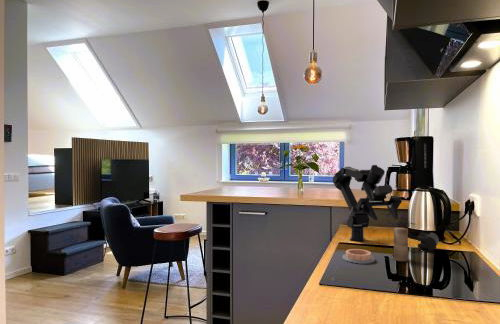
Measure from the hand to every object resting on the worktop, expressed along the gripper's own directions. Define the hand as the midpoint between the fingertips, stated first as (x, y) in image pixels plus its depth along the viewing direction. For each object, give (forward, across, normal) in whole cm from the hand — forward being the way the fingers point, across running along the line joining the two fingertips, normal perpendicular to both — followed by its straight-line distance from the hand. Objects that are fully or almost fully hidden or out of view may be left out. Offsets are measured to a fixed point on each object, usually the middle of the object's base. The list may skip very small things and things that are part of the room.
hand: (386, 219), depth 144 cm
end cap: (+8, +21, +13) cm, 26 cm away
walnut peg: (+16, +1, +5) cm, 16 cm away
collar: (+13, -15, +7) cm, 21 cm away
